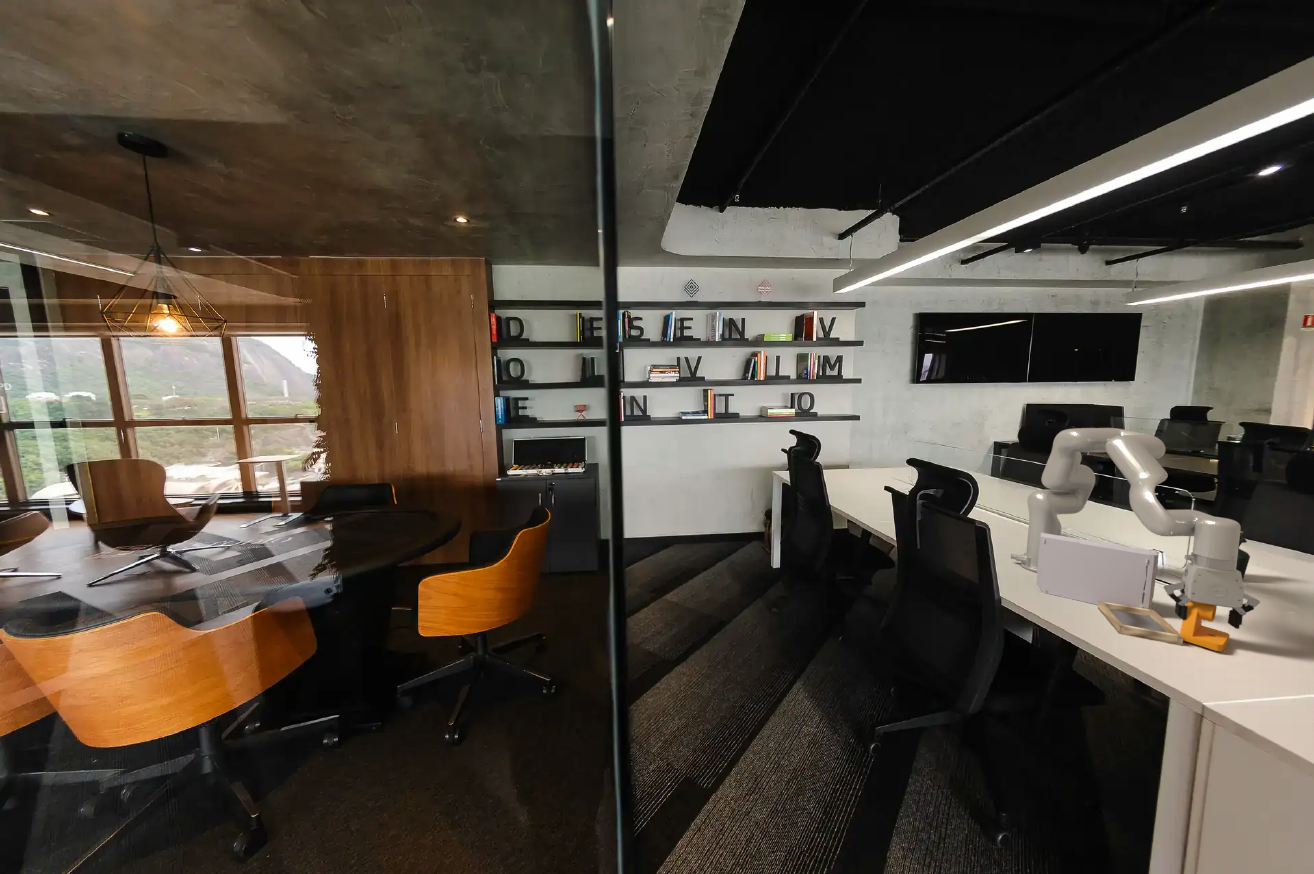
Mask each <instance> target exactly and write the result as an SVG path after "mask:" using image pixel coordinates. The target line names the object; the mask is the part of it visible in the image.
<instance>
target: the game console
mask: <svg viewBox="0 0 1314 874" xmlns="http://www.w3.org/2000/svg"><path fill="white" fill-rule="evenodd" d="M1158 558H1159V554H1158V551H1157V550H1152V549H1145V548H1140V547H1139V548H1138V547H1132V546H1128V545H1120V544H1114V543H1108V542H1101V541H1094V540H1091V539H1090V540H1087V539H1083V538H1078V537H1077V538H1076V537H1070V536H1065V535H1061V536H1059V535H1053V534H1046V533H1041V536H1040V548H1039V559H1038V571H1037V572H1036V582H1035V583H1036V585H1037V587H1038V588H1039V589H1040V591H1042V592H1043V593H1044V594H1049V595H1053V596H1057V597H1062V598H1064V599H1065V598H1066V599H1072V600H1075V601H1079V602H1083V603H1088V604H1092V605H1096V606H1098V601H1102V602H1108V603H1114V604H1119V605H1125V606H1131V607H1137V608H1143V609H1149V610H1153V598H1154V595H1155V593H1154V592H1155V586H1156V577H1157V569H1158V564H1159V560H1158Z"/></svg>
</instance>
